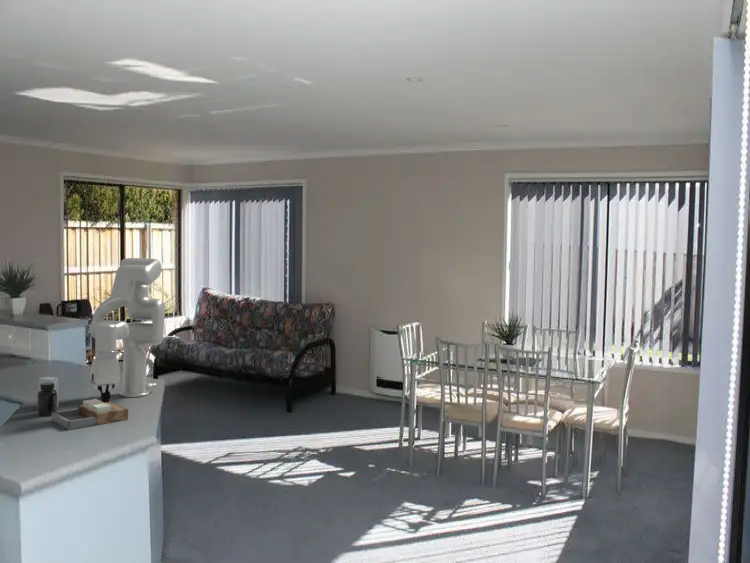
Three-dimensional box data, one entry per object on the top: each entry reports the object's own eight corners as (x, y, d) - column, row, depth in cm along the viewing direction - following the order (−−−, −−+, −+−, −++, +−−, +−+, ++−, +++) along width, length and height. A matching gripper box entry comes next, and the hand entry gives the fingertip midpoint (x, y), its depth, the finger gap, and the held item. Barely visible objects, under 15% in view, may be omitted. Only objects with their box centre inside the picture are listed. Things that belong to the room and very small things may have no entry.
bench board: (109, 410, 260) (109, 400, 260) (127, 419, 249) (128, 409, 249) (78, 415, 251) (78, 405, 251) (96, 425, 240) (96, 414, 240)
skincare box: (58, 406, 264) (58, 377, 263) (50, 409, 260) (51, 379, 259) (46, 405, 265) (46, 376, 265) (38, 407, 261) (38, 378, 261)
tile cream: (96, 404, 254) (96, 399, 254) (101, 406, 251) (101, 401, 251) (83, 406, 251) (83, 400, 251) (88, 408, 247) (88, 403, 247)
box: (78, 416, 251) (78, 408, 251) (95, 425, 240) (95, 417, 240) (51, 420, 244) (51, 412, 244) (68, 430, 233) (68, 421, 233)
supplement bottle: (52, 410, 257) (52, 380, 257) (60, 414, 253) (60, 383, 252) (34, 414, 252) (34, 383, 251) (42, 417, 248) (42, 386, 247)
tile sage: (105, 408, 249) (105, 403, 249) (110, 410, 245) (110, 405, 245) (91, 410, 245) (91, 405, 245) (97, 413, 242) (97, 407, 242)
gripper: (120, 352, 261) (119, 397, 262) (82, 355, 251) (81, 403, 252) (128, 354, 256) (128, 400, 257) (90, 358, 245) (90, 406, 246)
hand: (105, 401), depth 254 cm, fingers closed
